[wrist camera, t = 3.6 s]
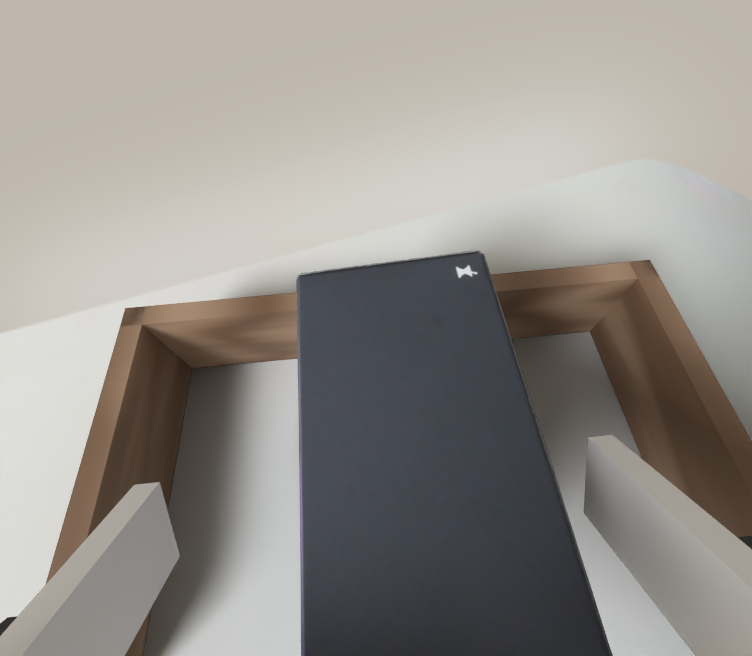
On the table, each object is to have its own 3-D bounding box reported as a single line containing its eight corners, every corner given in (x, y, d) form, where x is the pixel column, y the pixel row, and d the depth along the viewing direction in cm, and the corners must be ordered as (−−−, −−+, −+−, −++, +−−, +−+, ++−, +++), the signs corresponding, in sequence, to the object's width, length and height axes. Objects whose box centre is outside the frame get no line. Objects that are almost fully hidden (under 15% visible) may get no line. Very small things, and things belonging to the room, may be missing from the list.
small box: (332, 385, 21) (285, 264, 12) (449, 371, 21) (489, 240, 12) (347, 623, 16) (283, 725, 7) (501, 602, 16) (641, 676, 7)
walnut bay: (600, 314, 23) (649, 259, 18) (742, 636, 15) (882, 673, 11) (177, 354, 22) (125, 308, 18) (110, 697, 15) (-5, 758, 11)
